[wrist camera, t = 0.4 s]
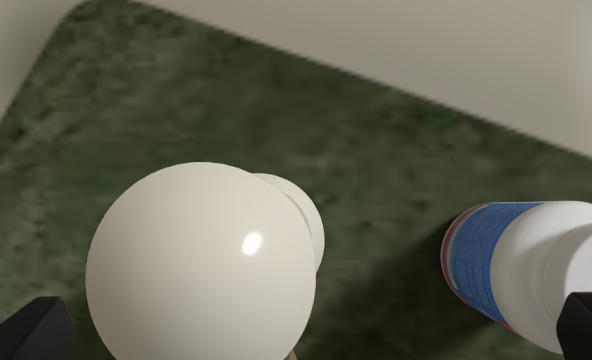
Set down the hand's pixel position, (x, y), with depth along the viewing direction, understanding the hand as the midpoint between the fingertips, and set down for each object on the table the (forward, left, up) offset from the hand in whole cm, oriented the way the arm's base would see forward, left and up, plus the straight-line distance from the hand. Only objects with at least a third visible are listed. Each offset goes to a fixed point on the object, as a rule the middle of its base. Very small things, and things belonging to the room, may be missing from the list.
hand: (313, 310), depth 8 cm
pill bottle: (-5, -8, -15) cm, 18 cm away
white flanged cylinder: (+1, +2, -15) cm, 15 cm away
